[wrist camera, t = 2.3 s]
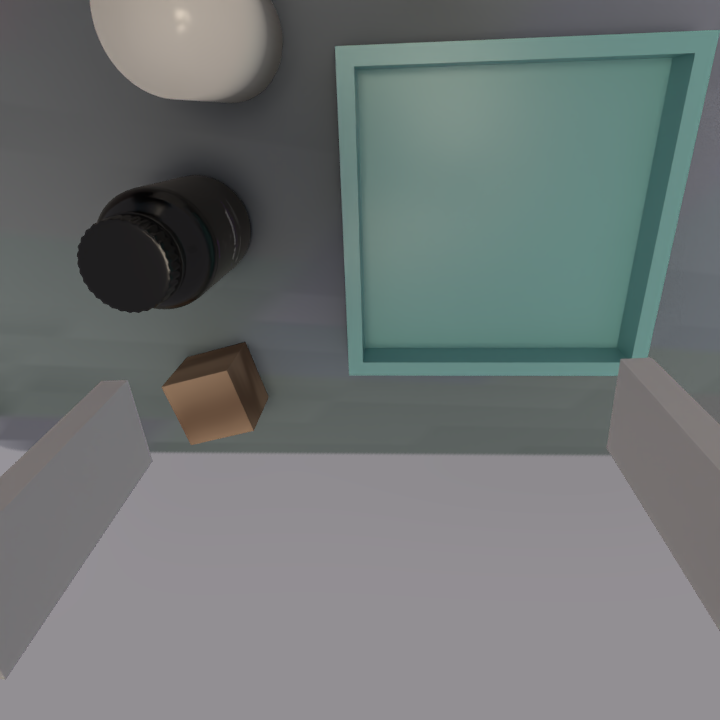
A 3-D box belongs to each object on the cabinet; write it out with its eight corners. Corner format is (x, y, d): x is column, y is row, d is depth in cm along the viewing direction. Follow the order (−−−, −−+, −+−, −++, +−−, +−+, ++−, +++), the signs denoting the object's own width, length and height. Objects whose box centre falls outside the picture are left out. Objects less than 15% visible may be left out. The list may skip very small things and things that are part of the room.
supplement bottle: (273, 233, 37) (221, 283, 26) (206, 290, 39) (131, 359, 28) (203, 150, 35) (115, 166, 24) (136, 215, 37) (26, 257, 26)
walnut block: (187, 356, 41) (161, 386, 37) (245, 341, 40) (226, 370, 36) (212, 410, 43) (191, 445, 39) (268, 396, 42) (253, 430, 38)
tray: (341, 52, 32) (334, 46, 29) (686, 38, 30) (719, 29, 27) (352, 354, 40) (349, 375, 37) (623, 354, 39) (643, 375, 36)
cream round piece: (158, -29, 31) (71, -81, 22) (276, -36, 30) (232, -91, 22) (179, 104, 34) (109, 101, 25) (287, 101, 33) (252, 96, 25)
